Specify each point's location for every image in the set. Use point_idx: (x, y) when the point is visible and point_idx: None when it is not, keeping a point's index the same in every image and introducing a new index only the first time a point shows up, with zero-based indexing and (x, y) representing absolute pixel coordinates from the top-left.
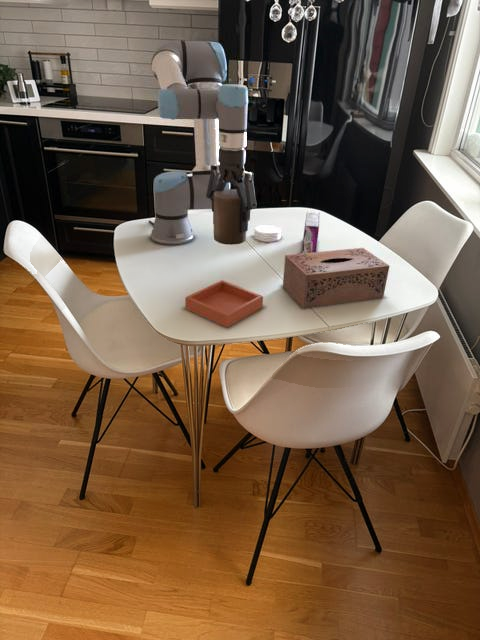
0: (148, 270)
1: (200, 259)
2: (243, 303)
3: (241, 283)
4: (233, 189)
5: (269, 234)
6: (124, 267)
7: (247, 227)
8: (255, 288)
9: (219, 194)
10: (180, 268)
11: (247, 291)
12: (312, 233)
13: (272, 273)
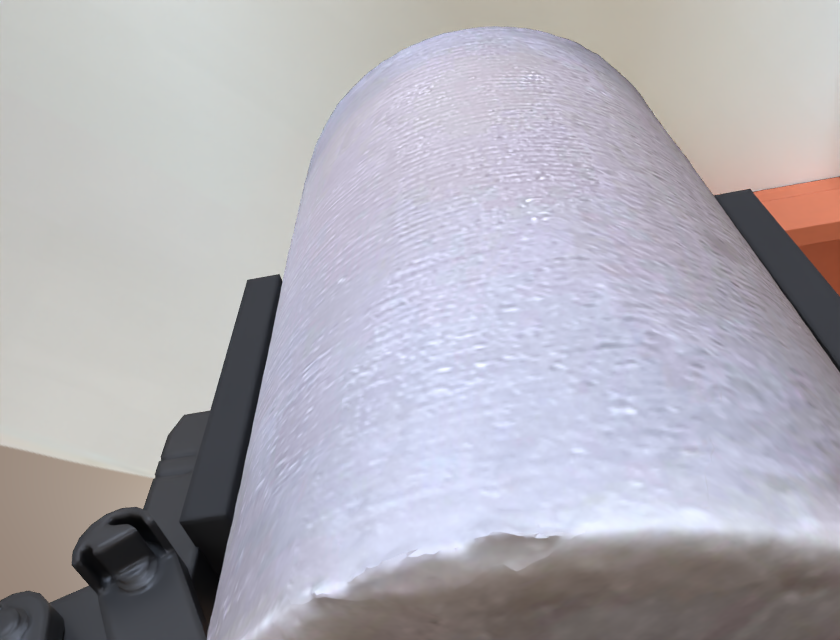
0: (107, 381)
1: (34, 34)
2: (819, 250)
3: (595, 49)
4: (313, 624)
5: None
6: (21, 444)
7: (769, 218)
8: (728, 18)
9: None
10: (150, 240)
11: (837, 235)
12: None
13: None
